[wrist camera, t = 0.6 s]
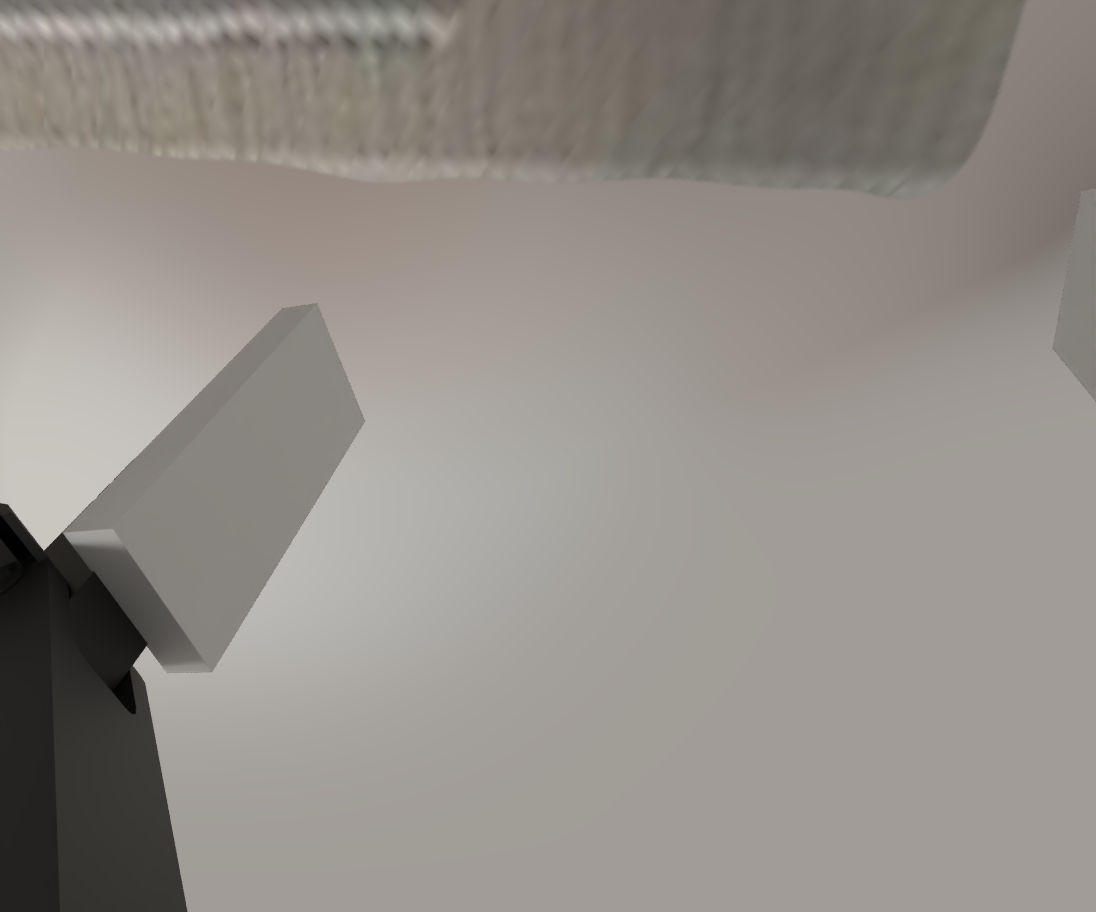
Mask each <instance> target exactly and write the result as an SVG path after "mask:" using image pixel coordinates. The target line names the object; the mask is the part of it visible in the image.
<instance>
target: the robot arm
mask: <svg viewBox="0 0 1096 912" xmlns="http://www.w3.org/2000/svg"><path fill="white" fill-rule="evenodd" d="M1053 350H1054V351H1055V352H1056V353H1057V355H1058V356H1059V357H1060V358H1061V360H1062V361H1063V362H1064V363H1065V365H1066V366H1067V367H1068V368H1069V369H1070V371H1072V373H1073V374H1074V375H1075V377H1076V378H1077V379H1078V380H1079V381H1080V383H1081V384H1082V385H1083V387H1085V389H1086V390H1087V391H1088V393H1089V394H1090V395H1091V396H1092V397H1093V399H1094V400H1095V401H1096V188H1094V189H1088V190H1082V191H1081V196H1080V201H1079V207H1078V212H1077V218H1076V223H1075V229H1074V234H1073V240H1072V245H1071V251H1070V257H1069V262H1068V268H1067V273H1066V278H1065V284H1064V289H1063V294H1062V300H1061V305H1060V311H1059V317H1058V323H1057V328H1056V333H1055V338H1054V344H1053ZM364 422H365V420H364V417H363V415H362V413H361V410H360V407H359V405H358V403H357V400H356V398H355V395H354V393H353V390H352V388H351V385H350V383H349V381H348V378H347V376H346V373H345V371H344V368H343V366H342V363H341V361H340V358H339V356H338V353H337V351H336V349H335V346H334V344H333V341H332V339H331V337H330V334H329V332H328V329H327V327H326V324H325V321H324V319H323V317H322V314H321V312H320V309H319V307H318V304H317V303H316V304H309V305H302V306H295V307H289V308H282V309H281V310H280V311H279V312H278V313H277V314H276V315H275V316H274V317H273V318H272V319H271V320H270V321H269V323H268V324H267V325H266V326H265V327H264V328H263V329H262V330H261V331H260V332H259V333H258V334H257V335H256V336H255V337H254V338H253V339H252V340H251V341H250V342H249V343H248V344H247V345H246V346H245V347H244V348H243V349H242V350H241V351H240V352H239V353H238V354H237V355H236V356H235V357H234V358H233V359H232V360H231V361H230V362H229V363H228V364H227V365H226V366H225V367H224V368H223V370H222V371H220V373H218V375H217V376H216V377H215V378H214V379H213V380H212V381H211V382H210V383H209V384H208V385H207V386H206V387H205V388H204V389H203V390H202V391H201V392H200V393H199V394H198V395H197V396H196V397H195V398H194V399H193V400H192V401H191V402H190V403H189V404H188V405H187V406H186V407H185V408H184V409H183V410H182V411H181V412H180V413H179V414H178V415H177V416H176V417H175V418H174V419H173V420H172V421H171V422H170V424H169V425H168V426H167V427H166V428H165V429H164V430H163V431H162V432H161V433H160V434H159V435H158V436H157V437H156V438H155V439H154V440H153V441H152V442H151V443H150V444H149V445H148V446H147V447H146V448H145V449H144V450H143V451H142V452H141V453H140V454H139V455H138V456H137V457H136V458H135V459H134V460H133V461H132V462H131V463H130V464H129V465H128V466H127V467H126V468H125V469H124V470H123V471H122V472H121V473H120V474H119V475H118V476H117V477H116V478H115V479H114V481H113V482H112V483H111V484H109V485H108V486H107V487H106V488H105V489H104V490H103V491H102V492H101V493H100V494H99V495H98V497H97V498H96V499H95V500H94V501H92V502H91V503H90V504H89V506H88V507H87V508H86V509H85V510H84V511H83V512H82V513H81V514H80V515H79V516H78V517H77V518H76V519H75V520H74V521H73V522H72V523H71V524H70V525H69V526H68V527H67V528H66V529H65V530H64V531H63V532H62V533H61V534H60V535H59V536H58V537H57V538H56V539H55V540H54V541H53V542H52V543H51V544H50V545H49V546H48V547H47V548H46V549H45V550H44V551H43V549H42V548H41V547H40V545H39V544H38V543H37V542H36V540H35V539H34V538H33V536H32V535H31V534H30V533H29V531H28V530H27V529H26V528H25V526H24V525H23V524H22V522H21V521H20V520H19V519H18V517H17V516H16V514H15V513H14V512H13V511H12V509H11V508H10V507H9V505H7V504H1V503H0V912H187V907H186V902H185V896H184V891H183V886H182V880H181V875H180V869H179V864H178V859H177V853H176V848H175V842H174V837H173V832H172V826H171V821H170V815H169V810H168V804H167V799H166V794H165V788H164V783H163V778H162V772H161V767H160V761H159V756H158V751H157V745H156V740H155V734H154V729H153V723H152V718H151V712H150V707H149V702H148V696H147V692H146V686H145V682H144V681H143V679H142V677H141V676H140V674H139V673H138V672H137V671H136V669H135V668H134V667H133V664H134V663H135V661H136V660H137V658H138V657H139V655H140V654H141V653H142V651H143V650H144V649H145V647H146V646H147V647H148V648H149V650H150V651H151V652H152V653H153V655H154V656H155V658H156V659H157V660H158V662H159V663H160V664H161V665H162V667H163V668H164V670H165V671H166V672H167V673H199V672H212V671H213V670H214V668H215V667H216V665H217V663H218V662H219V660H220V658H221V657H222V655H223V653H224V652H225V650H226V648H227V647H228V645H229V644H230V642H231V640H232V639H233V637H234V635H235V634H236V632H237V631H238V629H239V627H240V626H241V624H242V622H243V621H244V619H245V617H246V616H247V614H248V612H249V611H250V609H251V608H252V606H253V604H254V602H255V601H256V599H257V598H258V596H259V594H260V592H261V591H262V589H263V588H264V586H265V585H266V583H267V581H268V580H269V578H270V576H271V575H272V573H273V571H274V570H275V568H276V567H277V565H278V563H279V562H280V560H281V558H282V557H283V555H284V553H285V552H286V550H287V548H288V547H289V545H290V544H291V542H292V540H293V539H294V537H295V535H296V534H297V532H298V530H299V529H300V527H301V526H302V524H303V522H304V521H305V519H306V517H307V516H308V514H309V512H310V511H311V509H312V507H313V505H314V504H315V503H316V501H317V499H318V498H319V496H320V494H321V493H322V491H323V489H324V488H325V486H326V485H327V483H328V481H329V480H330V478H331V476H332V475H333V473H334V471H335V470H336V468H337V466H338V465H339V463H340V462H341V460H342V458H343V457H344V455H345V453H346V452H347V450H348V448H349V447H350V445H351V444H352V442H353V440H354V439H355V437H356V435H357V434H358V432H359V430H360V429H361V427H362V426H363V424H364Z"/></svg>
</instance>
